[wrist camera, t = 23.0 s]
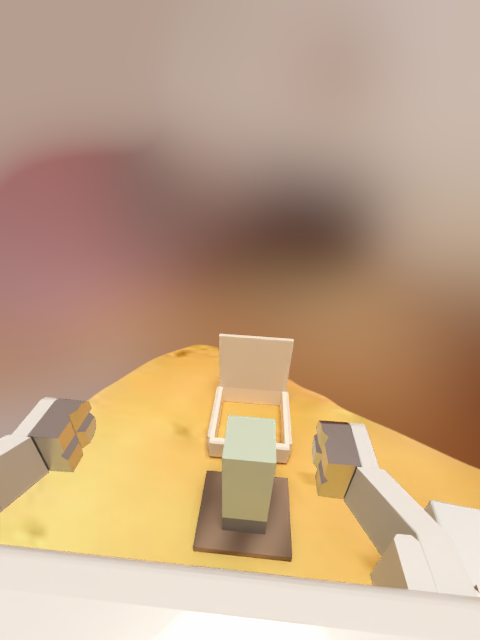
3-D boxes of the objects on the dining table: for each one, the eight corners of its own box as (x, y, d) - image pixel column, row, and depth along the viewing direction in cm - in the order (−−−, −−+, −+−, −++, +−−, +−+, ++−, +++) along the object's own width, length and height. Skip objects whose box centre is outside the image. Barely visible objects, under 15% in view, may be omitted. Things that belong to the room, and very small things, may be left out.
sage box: (222, 529, 36) (222, 458, 28) (226, 487, 40) (228, 415, 32) (264, 534, 35) (276, 463, 28) (265, 491, 40) (275, 419, 32)
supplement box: (491, 670, 28) (579, 628, 21) (405, 646, 29) (461, 600, 22) (458, 571, 34) (518, 515, 27) (388, 555, 35) (428, 497, 28)
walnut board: (193, 550, 35) (193, 546, 34) (207, 474, 42) (206, 470, 42) (290, 561, 34) (292, 557, 34) (286, 482, 42) (287, 478, 41)
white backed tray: (206, 457, 44) (203, 388, 37) (217, 398, 54) (217, 333, 47) (289, 465, 44) (303, 396, 36) (285, 403, 54) (296, 339, 46)
